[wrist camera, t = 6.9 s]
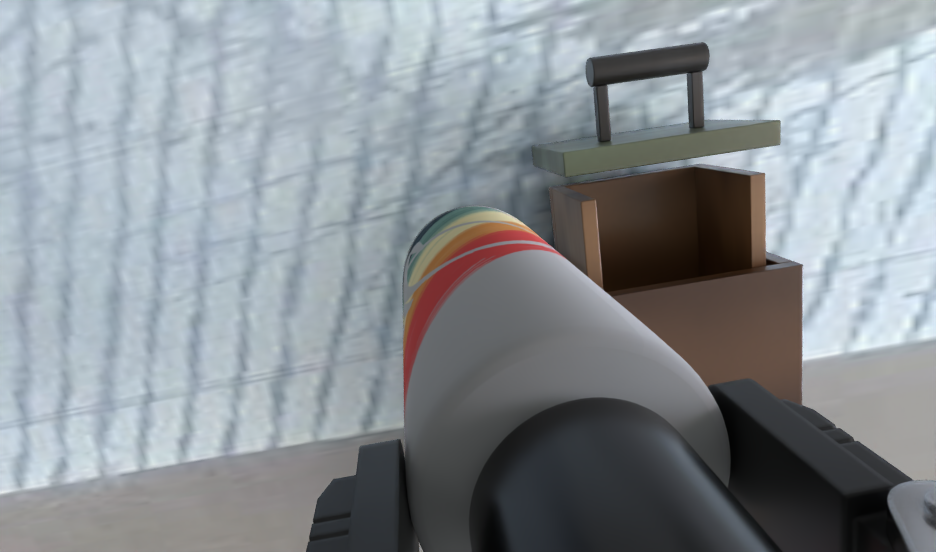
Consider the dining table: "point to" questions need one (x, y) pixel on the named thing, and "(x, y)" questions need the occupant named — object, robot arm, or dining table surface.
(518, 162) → the dining table surface
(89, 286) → the dining table surface
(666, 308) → the cabinet
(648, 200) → the drawer
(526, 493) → the lotion bottle
